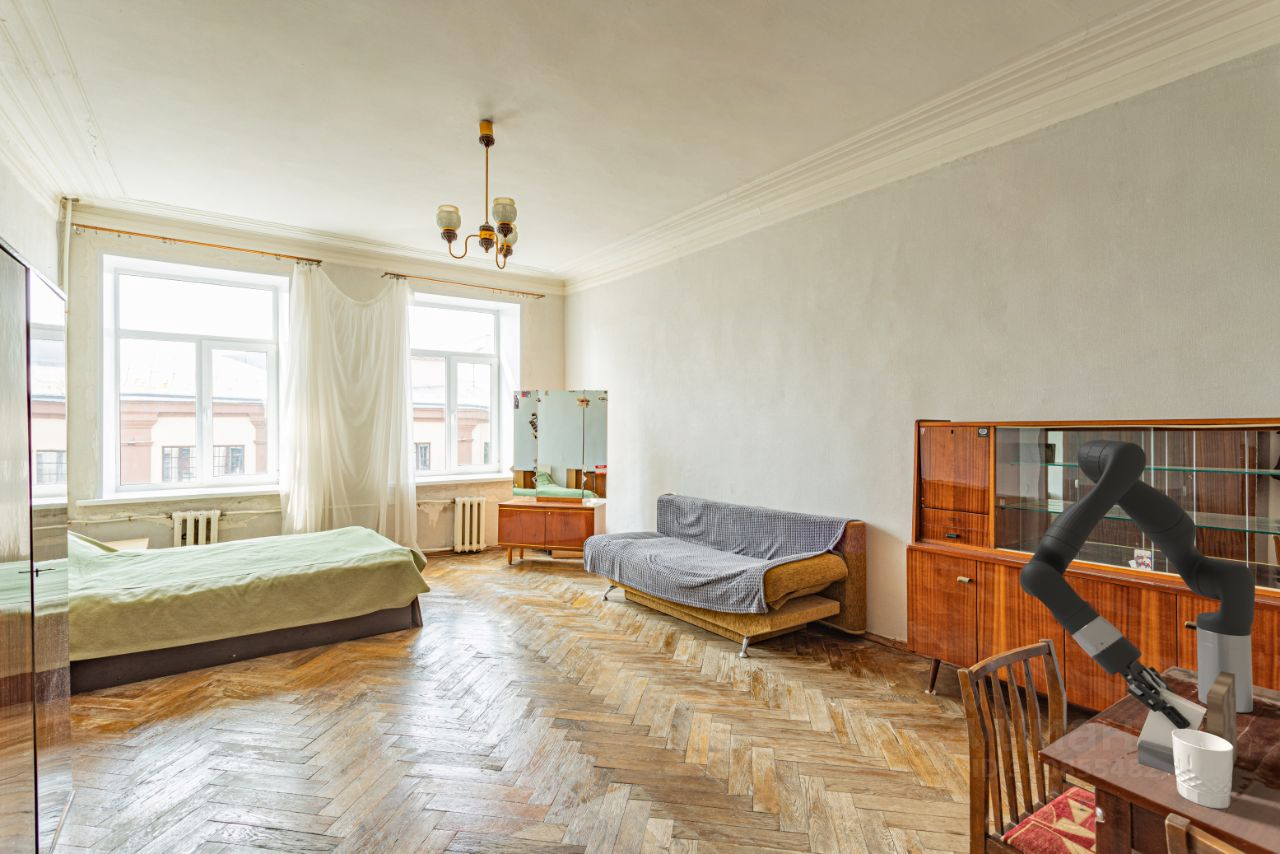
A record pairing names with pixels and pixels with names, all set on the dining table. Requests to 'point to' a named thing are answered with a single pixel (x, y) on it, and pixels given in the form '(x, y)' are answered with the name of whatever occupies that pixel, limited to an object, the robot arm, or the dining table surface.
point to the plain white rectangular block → (1162, 727)
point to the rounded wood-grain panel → (1216, 723)
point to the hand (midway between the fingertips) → (1187, 724)
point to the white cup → (1203, 767)
